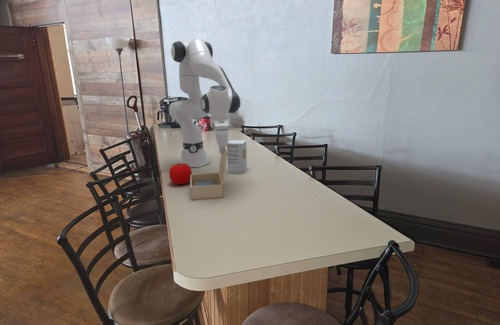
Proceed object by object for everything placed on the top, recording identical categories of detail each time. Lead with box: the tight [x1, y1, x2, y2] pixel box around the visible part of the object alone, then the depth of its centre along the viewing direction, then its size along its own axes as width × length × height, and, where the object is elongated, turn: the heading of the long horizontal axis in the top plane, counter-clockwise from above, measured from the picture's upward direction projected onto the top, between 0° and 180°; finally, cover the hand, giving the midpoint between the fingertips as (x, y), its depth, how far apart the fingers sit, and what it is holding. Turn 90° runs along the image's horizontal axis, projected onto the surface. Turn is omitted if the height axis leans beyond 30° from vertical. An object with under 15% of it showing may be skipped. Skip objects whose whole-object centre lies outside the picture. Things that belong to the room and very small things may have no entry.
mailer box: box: [189, 172, 224, 201], centre depth 151 cm, size 18×14×6 cm
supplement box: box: [226, 139, 248, 174], centre depth 180 cm, size 10×9×17 cm
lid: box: [218, 147, 227, 185], centre depth 149 cm, size 18×14×1 cm
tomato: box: [168, 162, 193, 185], centre depth 162 cm, size 11×12×10 cm
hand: (221, 152), depth 147 cm, fingers closed, pressing on lid
